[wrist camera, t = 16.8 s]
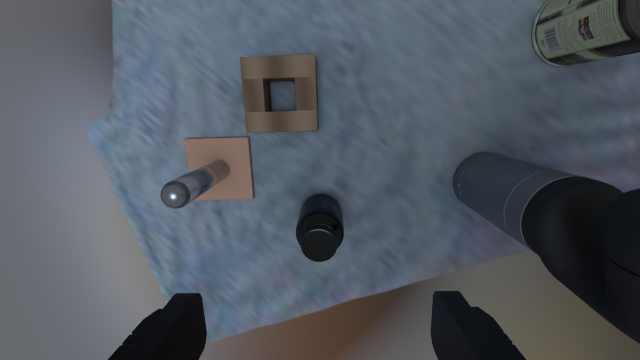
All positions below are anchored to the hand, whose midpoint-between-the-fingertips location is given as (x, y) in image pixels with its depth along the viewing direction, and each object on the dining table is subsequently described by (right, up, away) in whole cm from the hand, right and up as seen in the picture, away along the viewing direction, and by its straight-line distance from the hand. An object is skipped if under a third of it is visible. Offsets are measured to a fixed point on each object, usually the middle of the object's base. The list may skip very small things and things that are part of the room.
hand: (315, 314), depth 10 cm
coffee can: (+35, +26, +32) cm, 55 cm away
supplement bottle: (0, -1, +40) cm, 40 cm away
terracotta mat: (-16, +6, +38) cm, 42 cm away
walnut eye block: (-5, +17, +35) cm, 40 cm away
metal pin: (-16, +6, +37) cm, 41 cm away
